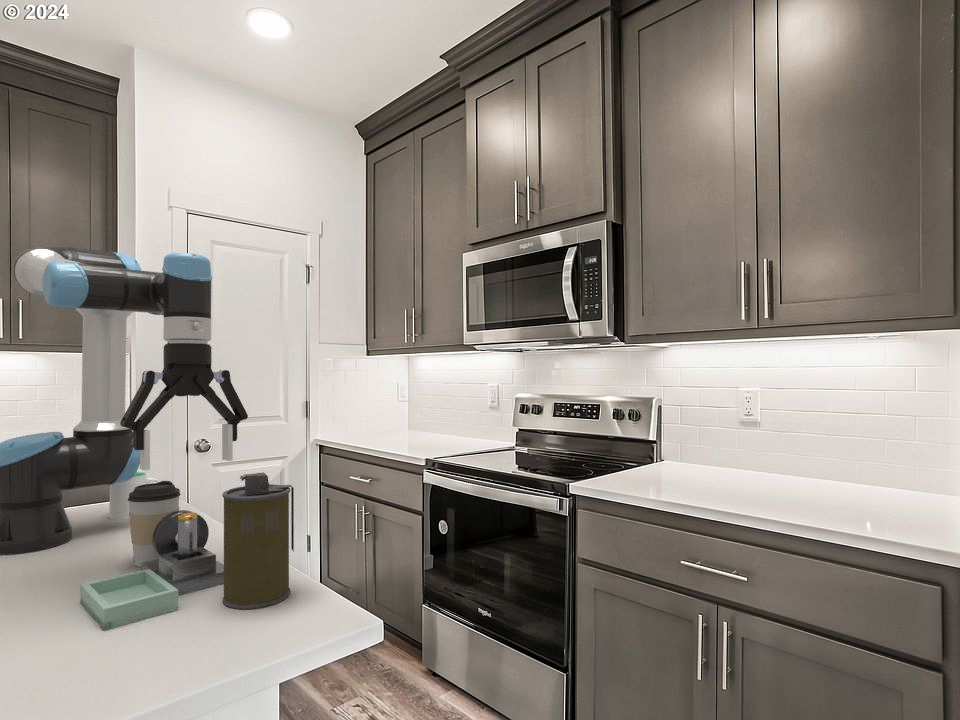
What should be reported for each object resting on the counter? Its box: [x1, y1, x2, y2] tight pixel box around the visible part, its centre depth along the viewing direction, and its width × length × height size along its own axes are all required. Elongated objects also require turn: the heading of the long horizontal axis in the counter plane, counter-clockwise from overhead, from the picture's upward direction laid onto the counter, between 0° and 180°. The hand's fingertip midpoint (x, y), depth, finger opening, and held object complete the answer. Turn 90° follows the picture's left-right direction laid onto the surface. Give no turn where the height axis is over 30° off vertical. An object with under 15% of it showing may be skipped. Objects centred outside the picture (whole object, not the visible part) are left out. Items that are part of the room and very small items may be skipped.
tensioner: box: [140, 509, 224, 596], centre depth 105 cm, size 16×10×11 cm, turn 46°
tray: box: [79, 569, 179, 631], centre depth 92 cm, size 14×10×3 cm
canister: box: [221, 472, 295, 610], centre depth 96 cm, size 11×10×20 cm
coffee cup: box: [128, 480, 182, 568], centre depth 114 cm, size 9×9×15 cm
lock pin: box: [178, 511, 198, 560], centre depth 102 cm, size 3×3×10 cm
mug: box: [109, 471, 161, 521], centre depth 151 cm, size 12×8×10 cm, turn 135°
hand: (188, 464), depth 102 cm, fingers open, 13 cm apart
